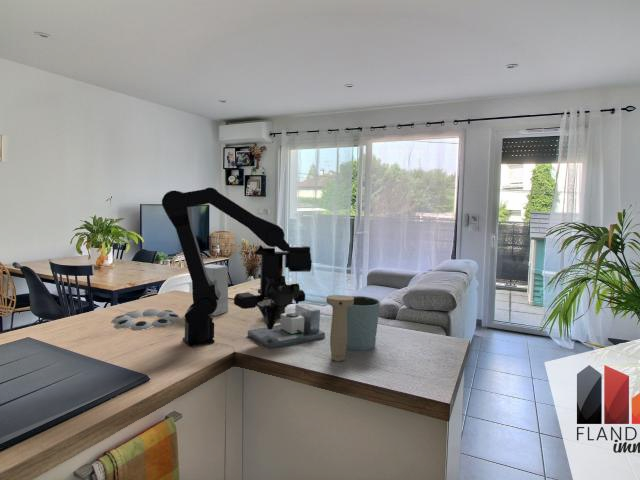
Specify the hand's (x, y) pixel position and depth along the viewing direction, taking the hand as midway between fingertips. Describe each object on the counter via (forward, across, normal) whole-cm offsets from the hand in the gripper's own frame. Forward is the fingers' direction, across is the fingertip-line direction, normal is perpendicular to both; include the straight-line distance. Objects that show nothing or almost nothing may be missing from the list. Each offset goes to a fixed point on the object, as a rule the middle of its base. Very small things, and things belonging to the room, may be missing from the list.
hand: (269, 329), depth 105 cm
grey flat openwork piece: (+4, -24, +34) cm, 41 cm away
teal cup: (+3, +18, -15) cm, 24 cm away
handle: (+3, +7, -20) cm, 22 cm away
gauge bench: (+3, +5, 0) cm, 6 cm away
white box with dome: (+1, +8, -1) cm, 8 cm away
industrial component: (+3, +12, +19) cm, 23 cm away
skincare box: (+3, -4, +33) cm, 33 cm away
